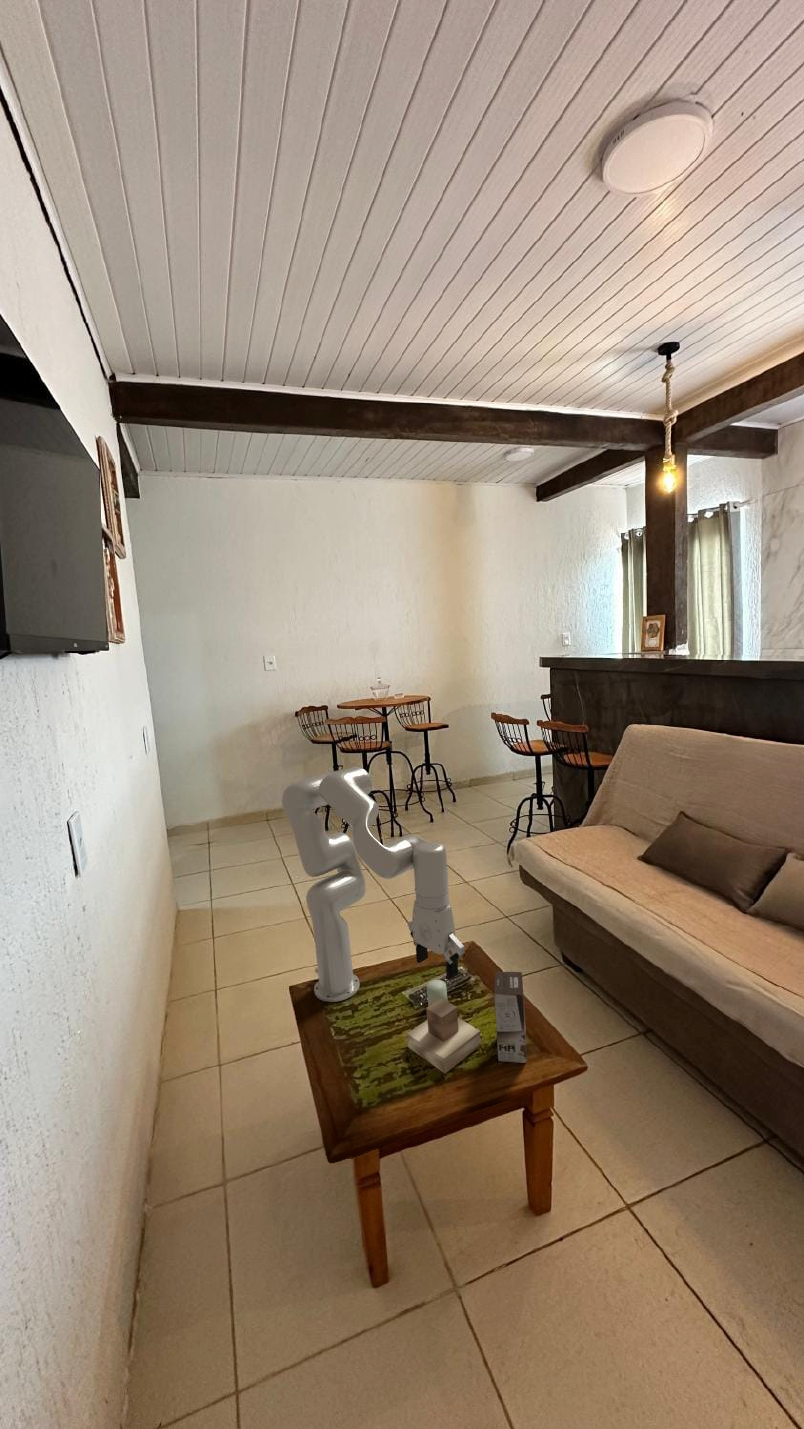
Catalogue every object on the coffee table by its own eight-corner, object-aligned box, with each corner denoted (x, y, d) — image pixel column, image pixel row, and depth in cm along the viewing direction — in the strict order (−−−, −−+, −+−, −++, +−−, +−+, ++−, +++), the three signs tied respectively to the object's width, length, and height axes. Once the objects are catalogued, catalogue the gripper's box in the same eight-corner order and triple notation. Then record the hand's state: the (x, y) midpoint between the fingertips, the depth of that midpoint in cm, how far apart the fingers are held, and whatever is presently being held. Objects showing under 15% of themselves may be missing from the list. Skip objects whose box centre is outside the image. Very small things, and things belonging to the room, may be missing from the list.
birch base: (408, 1049, 131) (407, 1033, 130) (444, 1023, 138) (442, 1008, 138) (445, 1075, 122) (444, 1058, 121) (481, 1046, 129) (480, 1030, 129)
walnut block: (428, 1031, 130) (426, 1008, 129) (443, 1021, 133) (441, 998, 133) (443, 1042, 126) (441, 1017, 126) (458, 1031, 129) (456, 1007, 129)
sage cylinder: (424, 1007, 144) (422, 986, 144) (438, 998, 148) (436, 977, 147) (438, 1016, 141) (436, 994, 140) (451, 1007, 144) (450, 985, 143)
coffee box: (527, 1063, 122) (523, 995, 120) (497, 1061, 124) (493, 994, 122) (526, 1035, 131) (522, 971, 129) (499, 1033, 133) (494, 970, 131)
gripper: (394, 892, 130) (400, 961, 132) (448, 916, 117) (453, 991, 119) (418, 881, 135) (422, 948, 137) (472, 903, 122) (476, 976, 124)
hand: (437, 968), depth 128 cm, fingers open, 9 cm apart
